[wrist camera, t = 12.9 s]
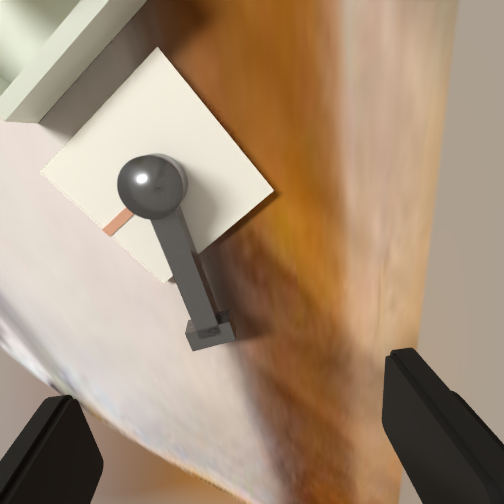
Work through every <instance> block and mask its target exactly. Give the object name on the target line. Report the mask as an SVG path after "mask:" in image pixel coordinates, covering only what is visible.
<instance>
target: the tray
mask: <svg viewBox="0 0 504 504" xmlns="http://www.w3.org/2000/svg"><path fill="white" fill-rule="evenodd" d="M146 1H147V0H0V118H1V119H3V120H4V121H6V122H23V123H38V122H39V121H40V120H41V119H42V118H43V117H44V116H45V114H46V113H47V112H48V111H49V110H50V109H51V108H52V107H53V105H54V104H55V103H56V102H57V101H58V100H59V99H60V98H61V96H62V95H63V94H64V93H65V92H66V91H67V90H68V89H69V88H70V86H71V85H72V84H73V83H74V82H75V81H76V80H77V79H78V77H79V76H80V75H81V74H82V73H83V72H84V71H85V70H86V69H87V67H88V66H89V65H90V64H91V63H92V62H93V61H94V60H95V58H96V57H97V56H98V55H99V54H100V53H101V52H102V51H103V49H104V48H105V47H106V46H107V45H108V44H109V43H110V42H111V41H112V39H113V38H114V37H115V36H116V35H117V34H118V33H119V32H120V30H121V29H122V28H123V27H124V26H125V25H126V24H127V23H128V21H129V20H130V19H131V18H132V17H133V16H134V15H135V14H136V13H137V11H138V10H139V9H140V8H141V7H142V6H143V5H144V4H145V2H146Z"/></svg>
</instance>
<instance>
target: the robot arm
mask: <svg viewBox="0 0 504 504" xmlns="http://www.w3.org/2000/svg"><path fill="white" fill-rule="evenodd" d="M382 424H383V428H384V431H385V433H386V435H387V437H388V439H389V440H390V442H391V444H392V446H393V448H394V450H395V452H396V454H397V456H398V457H399V459H400V461H401V463H402V465H403V467H404V469H405V471H406V473H407V475H408V476H409V478H410V480H411V482H412V484H413V486H414V487H415V489H416V492H417V494H418V495H419V497H420V499H421V501H422V503H423V504H504V444H503V443H502V442H501V441H500V440H499V438H498V437H497V436H496V435H495V434H494V433H493V432H492V431H491V429H490V428H488V426H487V425H486V424H485V423H484V422H483V421H482V419H481V418H480V417H479V416H478V415H477V414H476V413H475V412H474V411H473V409H472V408H471V407H470V406H469V405H468V404H467V403H466V402H465V400H464V399H463V398H462V397H460V395H458V394H457V393H455V392H454V391H450V389H449V388H448V387H447V386H446V385H445V384H444V383H443V381H442V380H441V379H440V378H439V377H438V376H437V375H436V373H435V372H434V371H433V370H432V369H431V368H430V367H429V366H428V364H427V363H426V362H425V361H424V360H423V359H422V357H421V356H420V355H419V354H418V353H417V352H416V351H415V350H414V349H413V348H404V349H397V350H392V351H391V353H390V356H386V359H385V375H384V391H383V408H382ZM102 471H103V458H102V456H101V453H100V451H99V449H98V447H97V444H96V442H95V439H94V437H93V435H92V432H91V430H90V428H89V425H88V423H87V421H86V418H85V416H84V414H83V411H82V409H81V407H80V404H79V402H78V401H77V400H76V399H73V398H72V396H70V395H62V396H56V397H48V398H47V399H45V400H44V401H43V402H42V404H41V405H40V407H39V408H38V409H37V411H36V412H35V413H34V415H33V416H32V418H31V419H30V421H29V422H28V423H27V425H26V426H25V427H24V429H23V430H22V432H21V433H20V434H19V436H18V437H17V439H16V440H15V441H14V443H13V444H12V445H11V447H10V448H9V450H8V451H7V453H6V454H5V455H4V457H3V458H2V459H1V461H0V504H90V503H91V500H92V498H93V495H94V493H95V490H96V487H97V485H98V482H99V480H100V477H101V474H102Z"/></svg>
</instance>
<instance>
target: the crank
mask: <svg viewBox="0 0 504 504" xmlns="http://www.w3.org/2000/svg"><path fill="white" fill-rule="evenodd" d="M187 189H188V180H187V176H186V173H185V171H184V169H183V168H182V166H181V165H180V164H179V163H178V162H177V161H176V160H175V159H173V158H172V157H170V156H168V155H165V154H160V153H153V154H148V155H144V156H140V157H136V158H133V159H131V160H130V161H128V162H127V163H126V164H125V165H124V166H123V167H122V169H121V170H120V172H119V175H118V179H117V190H118V194H119V197H120V199H121V201H122V202H123V204H124V205H125V206H126V208H127V209H128V210H129V211H131V212H132V213H133V214H135V215H137V216H139V217H141V218H144V219H149V220H150V221H151V224H152V226H153V228H154V231H155V233H156V236H157V238H158V240H159V243H160V245H161V248H162V250H163V252H164V255H165V257H166V260H167V262H168V264H169V267H170V269H171V272H172V274H173V276H174V279H175V281H176V284H177V286H178V289H179V291H180V293H181V296H182V298H183V301H184V303H185V305H186V308H187V310H188V313H189V315H190V317H191V320H188V323H187V328H186V332H185V335H186V337H187V339H188V342H189V344H190V346H191V349H192V351H196V350H200V349H204V348H208V347H212V346H215V345H219V344H223V343H227V342H231V341H234V340H236V328H235V324H234V321H233V318H232V315H231V312H230V310H225V311H222V312H219V311H218V308H217V305H216V302H215V300H214V297H213V294H212V292H211V289H210V286H209V283H208V281H207V278H206V275H205V273H204V270H203V267H202V264H201V262H200V259H199V256H198V254H197V251H196V248H195V245H194V243H193V240H192V237H191V235H190V232H189V229H188V226H187V224H186V221H185V218H184V215H183V213H182V210H181V207H180V205H179V204H180V203H181V202H182V200H183V199H184V197H185V195H186V193H187Z"/></svg>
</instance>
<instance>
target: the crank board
mask: <svg viewBox="0 0 504 504" xmlns="http://www.w3.org/2000/svg"><path fill="white" fill-rule="evenodd" d="M153 153H160V154H165V155H168V156H170V157H172V158H173V159H175V160H176V161H177V162H178V163H179V164H180V165H181V166H182V168H183V169H184V171H185V173H186V176H187V180H188V189H187V193H186V195H185V197H184V199H183V200H182V202H181V203H180V204H179V205H180V207H181V210H182V213H183V215H184V218H185V221H186V224H187V226H188V229H189V232H190V235H191V237H192V240H193V243H194V245H195V248H196V251H197V254H199V253H200V252H202V251H203V250H204V249H205V248H206V247H208V246H209V245H210V244H211V243H212V242H213V241H215V240H216V239H217V238H218V237H219V236H221V235H222V234H223V233H224V232H225V231H227V230H228V229H229V228H230V227H231V226H232V225H234V224H235V223H236V222H237V221H238V220H240V219H241V218H242V217H243V216H244V215H245V214H247V213H248V212H249V211H250V210H251V209H253V208H254V207H255V206H256V205H257V204H259V203H260V202H261V201H262V200H263V199H264V198H266V197H267V196H268V195H269V194H270V193H272V192H273V191H274V190H273V189H272V187H271V186H270V185H269V184H268V182H267V181H266V180H265V179H264V177H263V176H262V175H261V174H260V173H259V171H258V170H257V169H256V168H255V166H254V165H253V164H252V163H251V161H250V160H249V159H248V158H247V157H246V155H245V154H244V153H243V152H242V150H241V149H240V148H239V147H238V145H237V144H236V143H235V142H234V140H233V139H232V138H231V137H230V136H229V134H228V133H227V132H226V131H225V129H224V128H223V127H222V126H221V124H220V123H219V122H218V121H217V120H216V118H215V117H214V116H213V115H212V113H211V112H210V111H209V110H208V108H207V107H206V106H205V105H204V103H203V102H202V101H201V100H200V99H199V97H198V96H197V95H196V94H195V92H194V91H193V90H192V89H191V87H190V86H189V85H188V84H187V83H186V81H185V80H184V79H183V78H182V76H181V75H180V74H179V73H178V71H177V70H176V69H175V68H174V66H173V65H172V64H171V63H170V62H169V60H168V59H167V58H166V57H165V55H164V54H163V53H162V52H161V50H160V49H159V48H158V47H157V48H156V49H155V50H154V51H153V52H152V53H151V54H150V55H149V56H148V57H147V58H146V59H145V60H144V61H143V62H142V64H141V65H140V66H139V67H138V68H137V69H136V70H135V71H134V72H133V73H132V74H131V75H130V76H129V77H128V78H127V80H126V81H125V82H124V83H123V84H122V85H121V86H120V87H119V88H118V89H117V90H116V91H115V92H114V93H113V94H112V96H111V97H110V98H109V99H108V100H107V101H106V102H105V103H104V104H103V105H102V106H101V107H100V108H99V109H98V110H97V112H96V113H95V114H94V115H93V116H92V117H91V118H90V119H89V120H88V121H87V122H86V123H85V124H84V125H83V126H82V128H81V129H80V130H79V131H78V132H77V133H76V134H75V135H74V136H73V137H72V138H71V139H70V140H69V141H68V142H67V144H66V145H65V146H64V147H63V148H62V149H61V150H60V151H59V152H58V153H57V154H56V155H55V156H54V157H53V158H52V160H51V161H50V162H49V163H48V164H47V165H46V166H45V167H44V168H43V169H42V170H41V171H40V172H39V173H40V174H41V175H43V176H44V177H45V178H46V179H47V180H48V181H49V182H50V183H51V184H53V185H54V186H55V187H56V188H57V189H58V190H59V191H60V192H62V193H63V194H64V195H65V196H66V197H67V198H68V199H69V200H70V201H72V202H73V203H74V204H75V205H76V206H77V207H78V208H79V209H80V210H82V211H83V212H84V213H85V214H86V215H87V216H88V217H89V218H90V219H92V220H93V221H94V222H95V223H96V224H97V225H98V226H99V227H101V228H102V230H103V231H104V232H105V233H106V234H107V235H109V236H111V237H112V238H113V239H114V240H115V241H116V242H117V243H118V244H119V245H121V246H122V247H123V248H124V249H125V250H126V251H127V252H128V253H129V254H131V255H132V256H133V257H134V258H135V259H136V260H137V261H138V262H140V263H141V264H142V265H143V266H144V267H145V268H146V269H147V270H148V271H150V272H151V273H152V274H153V275H154V276H155V277H156V278H157V279H158V280H160V281H161V282H162V283H163V284H164V283H165V282H166V281H167V280H168V279H170V278H171V277H172V276H173V274H172V272H171V269H170V267H169V264H168V262H167V260H166V257H165V255H164V252H163V250H162V248H161V245H160V243H159V240H158V238H157V236H156V233H155V231H154V228H153V226H152V224H151V221H150V220H149V219H144V218H141V217H139V216H137V215H135V214H133V213H132V212H131V211H129V210H128V209H127V208H126V206H125V205H124V204H123V202H122V201H121V199H120V197H119V194H118V190H117V179H118V175H119V172H120V170H121V169H122V167H123V166H124V165H125V164H126V163H127V162H128V161H130V160H131V159H133V158H136V157H140V156H144V155H148V154H153Z"/></svg>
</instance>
